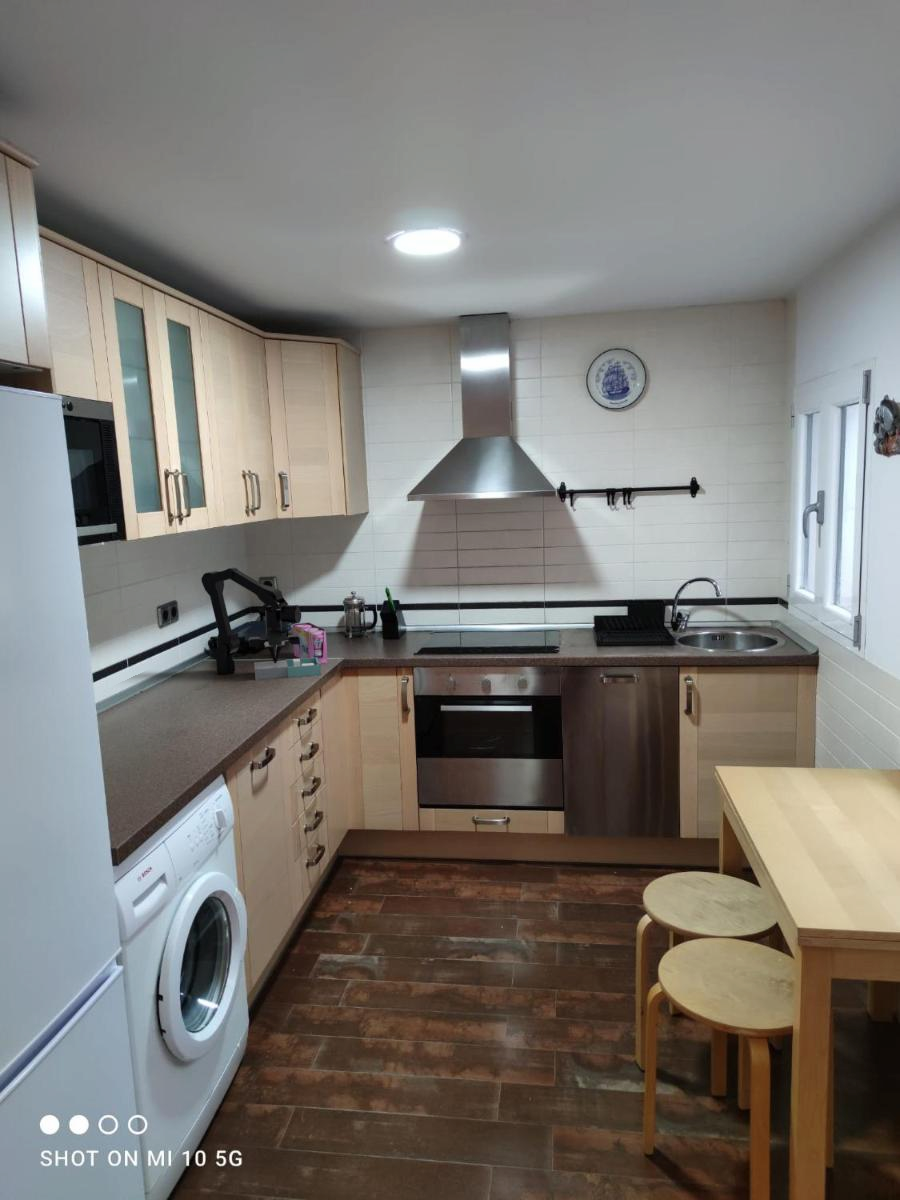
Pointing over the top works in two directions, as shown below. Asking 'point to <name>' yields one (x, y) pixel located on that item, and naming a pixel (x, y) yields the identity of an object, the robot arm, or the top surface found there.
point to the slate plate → (271, 670)
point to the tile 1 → (296, 662)
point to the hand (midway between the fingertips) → (275, 662)
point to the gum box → (310, 642)
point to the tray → (304, 668)
